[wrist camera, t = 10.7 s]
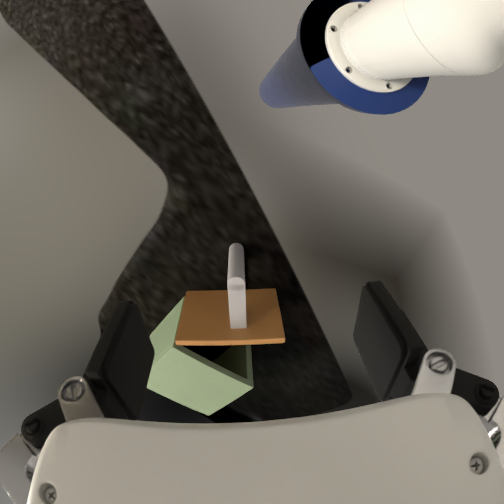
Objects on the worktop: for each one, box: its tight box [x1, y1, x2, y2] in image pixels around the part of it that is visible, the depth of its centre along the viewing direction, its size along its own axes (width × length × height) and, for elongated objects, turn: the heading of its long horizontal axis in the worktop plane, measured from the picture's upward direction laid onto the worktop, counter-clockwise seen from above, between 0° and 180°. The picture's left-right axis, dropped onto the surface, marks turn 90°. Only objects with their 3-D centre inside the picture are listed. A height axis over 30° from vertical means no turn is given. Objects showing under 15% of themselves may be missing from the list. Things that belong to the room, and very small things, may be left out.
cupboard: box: [147, 297, 253, 415], centre depth 39 cm, size 10×12×13 cm
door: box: [175, 243, 285, 345], centre depth 34 cm, size 8×12×13 cm, turn 91°
